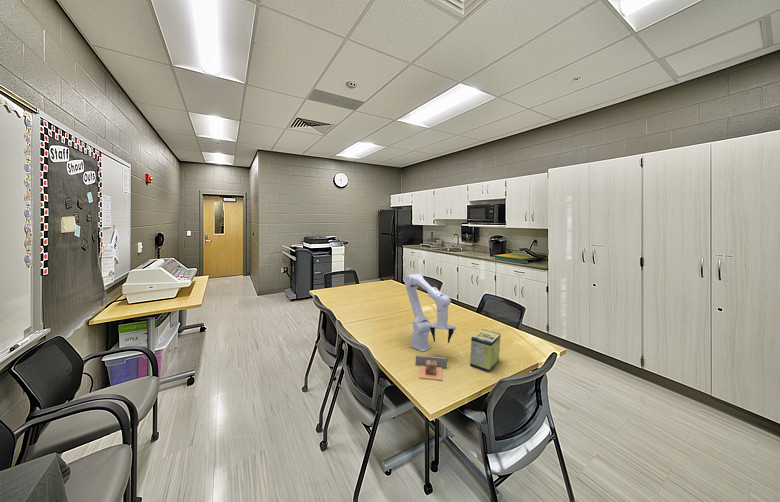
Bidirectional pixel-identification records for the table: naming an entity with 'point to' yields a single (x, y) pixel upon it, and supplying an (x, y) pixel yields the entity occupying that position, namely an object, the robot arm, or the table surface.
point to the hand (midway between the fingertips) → (441, 341)
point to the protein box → (485, 350)
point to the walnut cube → (430, 367)
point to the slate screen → (439, 360)
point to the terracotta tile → (431, 377)
